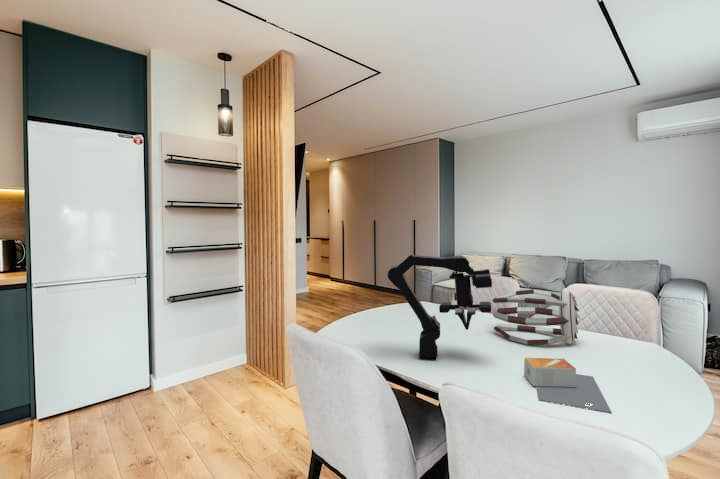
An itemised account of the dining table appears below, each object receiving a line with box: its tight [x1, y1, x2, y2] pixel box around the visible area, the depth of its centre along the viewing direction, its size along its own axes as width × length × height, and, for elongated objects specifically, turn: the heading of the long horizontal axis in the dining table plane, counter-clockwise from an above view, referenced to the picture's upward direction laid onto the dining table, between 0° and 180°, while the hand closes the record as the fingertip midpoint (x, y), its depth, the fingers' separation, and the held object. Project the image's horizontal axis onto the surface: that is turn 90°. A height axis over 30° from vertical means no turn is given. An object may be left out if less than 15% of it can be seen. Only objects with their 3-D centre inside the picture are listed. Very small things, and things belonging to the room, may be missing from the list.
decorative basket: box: [491, 287, 580, 346], centre depth 156 cm, size 24×27×35 cm
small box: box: [523, 357, 577, 387], centre depth 114 cm, size 8×6×13 cm
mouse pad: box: [535, 373, 612, 414], centre depth 110 cm, size 18×24×1 cm
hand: (467, 329), depth 133 cm, fingers closed
